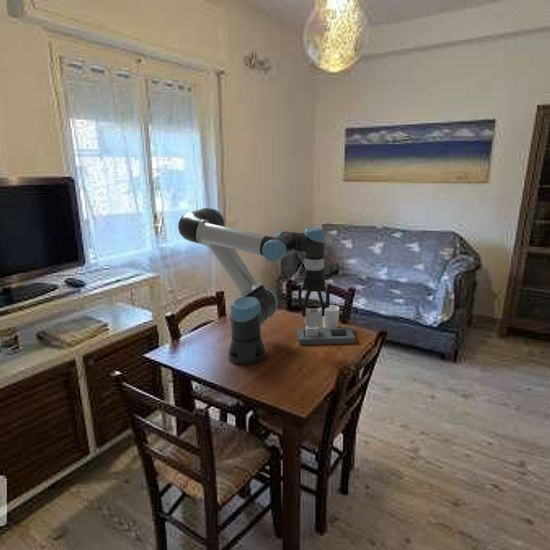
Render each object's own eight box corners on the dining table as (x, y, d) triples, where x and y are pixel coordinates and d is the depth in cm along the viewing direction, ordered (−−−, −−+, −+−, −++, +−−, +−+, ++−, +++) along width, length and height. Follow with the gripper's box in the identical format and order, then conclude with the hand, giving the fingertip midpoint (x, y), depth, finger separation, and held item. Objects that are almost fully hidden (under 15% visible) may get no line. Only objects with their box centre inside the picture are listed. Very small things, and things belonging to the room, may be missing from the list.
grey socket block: (299, 344, 171) (299, 331, 169) (297, 333, 182) (297, 320, 180) (355, 343, 172) (355, 329, 170) (349, 332, 182) (350, 319, 180)
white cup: (338, 324, 191) (339, 304, 188) (339, 331, 183) (340, 311, 180) (321, 324, 191) (322, 304, 189) (321, 331, 184) (322, 310, 181)
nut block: (307, 327, 159) (307, 312, 157) (306, 322, 164) (306, 307, 162) (320, 327, 159) (320, 312, 157) (318, 322, 164) (318, 307, 162)
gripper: (291, 271, 151) (291, 328, 158) (339, 270, 151) (337, 327, 158) (290, 266, 158) (290, 320, 165) (335, 265, 158) (333, 319, 165)
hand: (313, 323), depth 161 cm, fingers closed on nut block, 5 cm apart
